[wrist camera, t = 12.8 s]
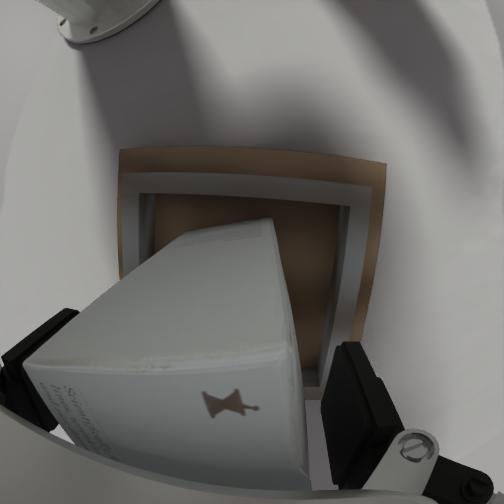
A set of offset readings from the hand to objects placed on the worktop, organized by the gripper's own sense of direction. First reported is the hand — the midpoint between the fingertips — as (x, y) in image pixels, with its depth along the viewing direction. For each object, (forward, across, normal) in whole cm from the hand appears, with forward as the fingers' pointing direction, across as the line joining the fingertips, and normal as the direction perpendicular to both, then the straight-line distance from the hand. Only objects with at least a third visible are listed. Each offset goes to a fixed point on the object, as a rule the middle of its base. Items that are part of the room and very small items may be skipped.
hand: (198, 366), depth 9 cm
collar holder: (+12, 0, +1) cm, 12 cm away
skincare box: (+10, -1, +1) cm, 10 cm away
